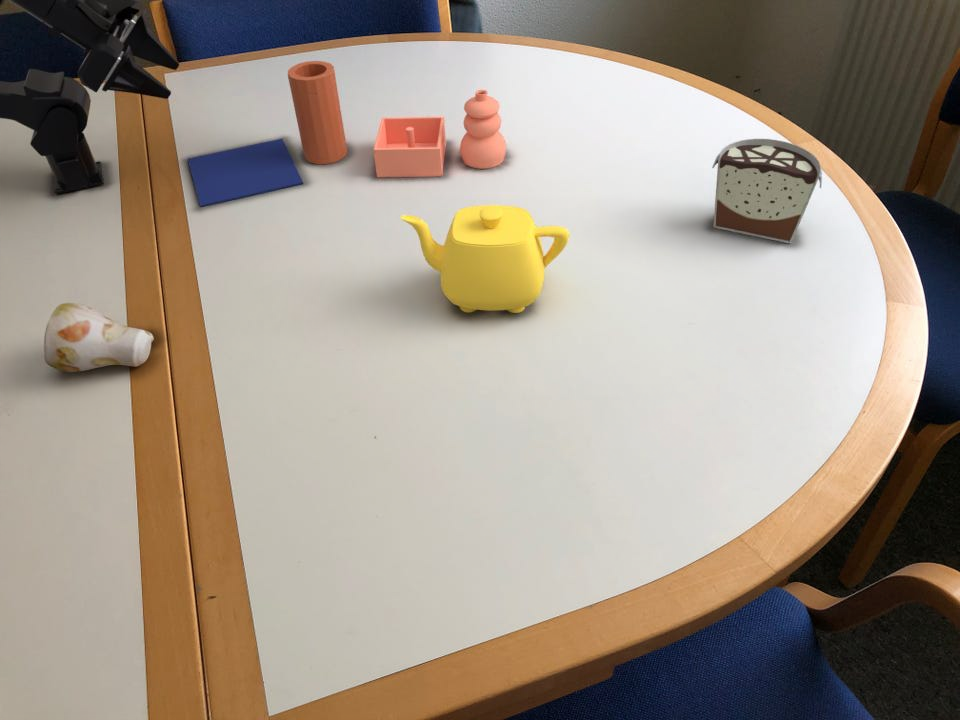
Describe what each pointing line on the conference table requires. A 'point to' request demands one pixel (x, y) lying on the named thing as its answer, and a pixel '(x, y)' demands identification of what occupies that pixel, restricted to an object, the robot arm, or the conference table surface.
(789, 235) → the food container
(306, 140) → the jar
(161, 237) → the conference table surface
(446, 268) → the teapot
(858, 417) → the conference table surface
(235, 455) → the conference table surface
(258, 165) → the napkin
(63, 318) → the fruit patterned vase
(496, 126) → the pottery
